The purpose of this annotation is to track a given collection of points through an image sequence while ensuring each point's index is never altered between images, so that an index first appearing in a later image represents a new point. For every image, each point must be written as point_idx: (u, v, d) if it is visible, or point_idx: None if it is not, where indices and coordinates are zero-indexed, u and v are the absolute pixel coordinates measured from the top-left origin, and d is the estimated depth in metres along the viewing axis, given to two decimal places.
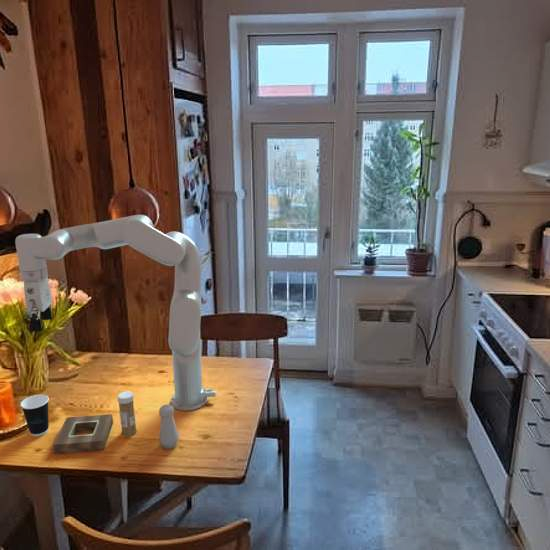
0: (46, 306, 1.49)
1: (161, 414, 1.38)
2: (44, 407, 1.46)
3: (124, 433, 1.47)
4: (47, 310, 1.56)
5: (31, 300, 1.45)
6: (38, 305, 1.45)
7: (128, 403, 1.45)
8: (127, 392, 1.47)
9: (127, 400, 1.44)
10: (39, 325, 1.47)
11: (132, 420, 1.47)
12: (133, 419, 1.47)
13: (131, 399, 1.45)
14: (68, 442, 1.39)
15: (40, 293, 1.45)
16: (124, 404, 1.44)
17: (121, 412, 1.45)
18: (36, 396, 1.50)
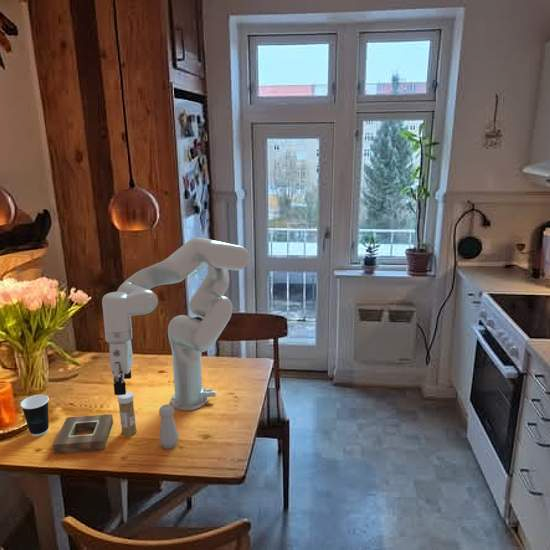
0: (130, 367, 1.41)
1: (161, 414, 1.38)
2: (44, 407, 1.46)
3: (124, 433, 1.47)
4: None
5: (117, 363, 1.37)
6: (124, 368, 1.38)
7: (128, 403, 1.45)
8: (127, 392, 1.47)
9: (127, 400, 1.44)
10: (123, 388, 1.39)
11: (132, 420, 1.47)
12: (133, 419, 1.47)
13: (131, 399, 1.45)
14: (68, 442, 1.39)
15: (126, 355, 1.37)
16: (124, 404, 1.44)
17: (121, 412, 1.45)
18: (36, 396, 1.50)
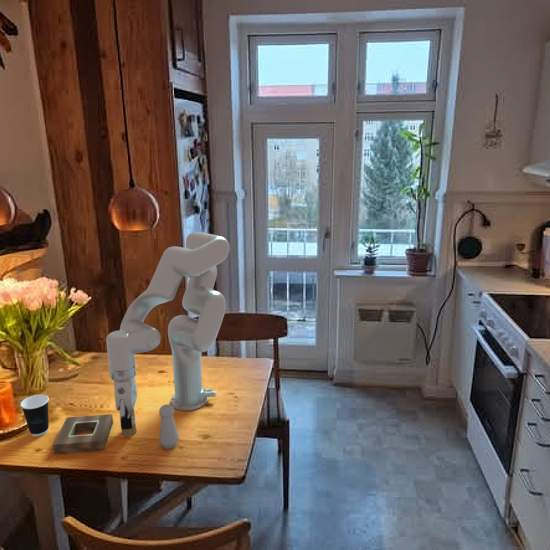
0: (134, 403, 1.45)
1: (161, 414, 1.38)
2: (44, 407, 1.46)
3: (124, 433, 1.47)
4: None
5: (122, 401, 1.41)
6: (128, 404, 1.41)
7: None
8: None
9: None
10: (130, 423, 1.45)
11: (132, 420, 1.47)
12: (133, 419, 1.47)
13: None
14: (68, 442, 1.39)
15: (130, 393, 1.41)
16: None
17: None
18: (36, 396, 1.50)
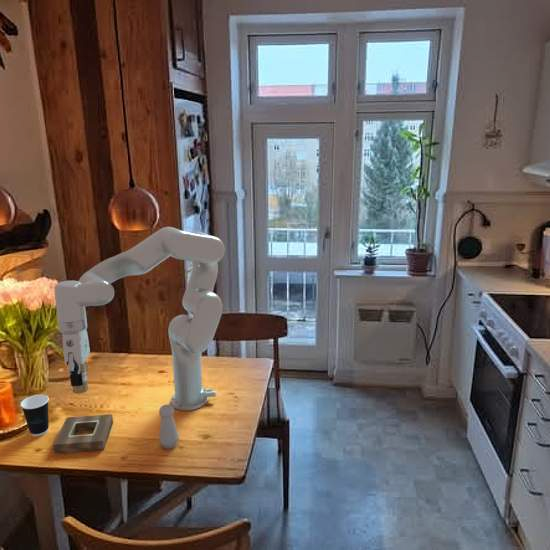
0: (85, 358, 1.38)
1: (161, 414, 1.38)
2: (44, 407, 1.46)
3: (74, 390, 1.40)
4: None
5: (70, 355, 1.34)
6: (77, 358, 1.34)
7: None
8: None
9: None
10: (80, 379, 1.38)
11: (83, 377, 1.40)
12: (84, 376, 1.40)
13: None
14: (68, 442, 1.39)
15: (80, 346, 1.34)
16: None
17: None
18: (36, 396, 1.50)
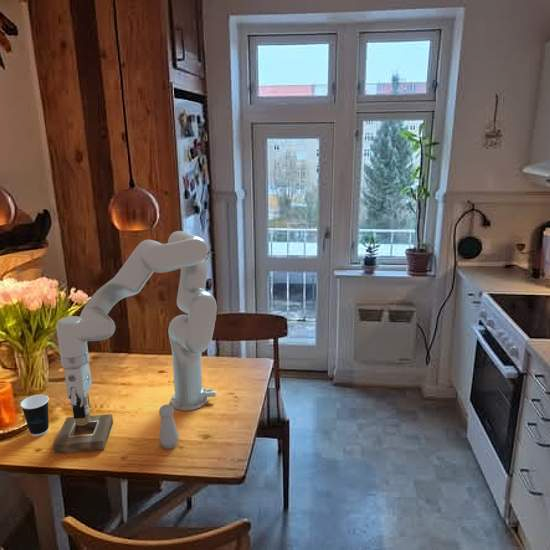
0: (87, 391, 1.41)
1: (161, 414, 1.38)
2: (44, 407, 1.46)
3: (77, 422, 1.43)
4: None
5: (73, 389, 1.37)
6: (80, 393, 1.37)
7: None
8: None
9: None
10: (82, 412, 1.41)
11: (85, 409, 1.43)
12: (86, 408, 1.43)
13: None
14: (68, 442, 1.39)
15: (82, 380, 1.37)
16: None
17: None
18: (36, 396, 1.50)
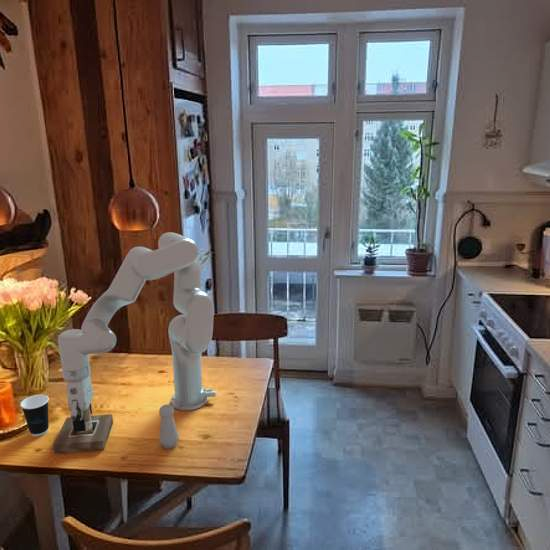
0: (88, 403, 1.42)
1: (161, 414, 1.38)
2: (44, 407, 1.46)
3: None
4: None
5: (74, 401, 1.38)
6: (81, 405, 1.38)
7: None
8: None
9: None
10: (82, 425, 1.41)
11: (88, 425, 1.44)
12: (89, 424, 1.45)
13: None
14: (68, 442, 1.39)
15: (83, 393, 1.38)
16: None
17: None
18: (36, 396, 1.50)
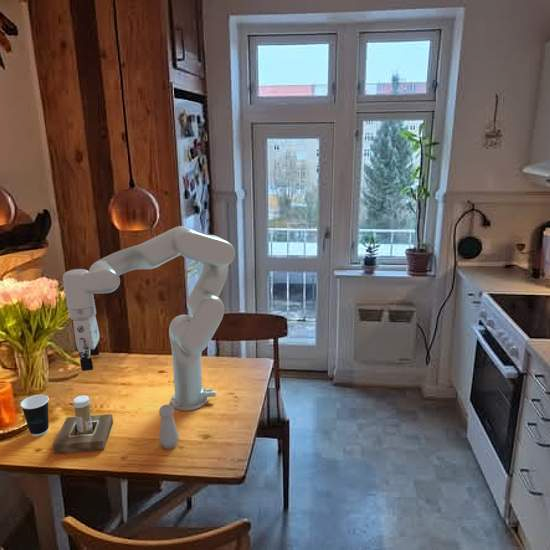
0: (96, 343, 1.43)
1: (161, 414, 1.38)
2: (44, 407, 1.46)
3: None
4: None
5: (82, 339, 1.39)
6: (89, 343, 1.39)
7: (83, 407, 1.42)
8: (83, 396, 1.45)
9: (82, 404, 1.42)
10: (90, 364, 1.41)
11: (88, 425, 1.44)
12: (89, 424, 1.45)
13: (87, 403, 1.43)
14: (68, 442, 1.39)
15: (90, 331, 1.39)
16: (79, 409, 1.42)
17: (76, 416, 1.43)
18: (36, 396, 1.50)
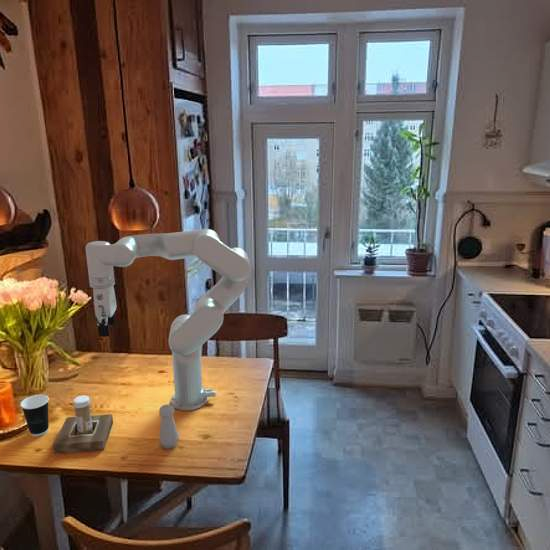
0: (113, 312, 1.52)
1: (161, 414, 1.38)
2: (44, 407, 1.46)
3: None
4: None
5: (100, 306, 1.48)
6: (107, 311, 1.49)
7: (84, 407, 1.42)
8: (83, 396, 1.45)
9: (82, 404, 1.42)
10: (107, 330, 1.50)
11: (88, 425, 1.44)
12: (89, 424, 1.45)
13: (87, 403, 1.43)
14: (68, 442, 1.39)
15: (109, 299, 1.48)
16: (80, 409, 1.42)
17: (77, 416, 1.43)
18: (36, 396, 1.50)
